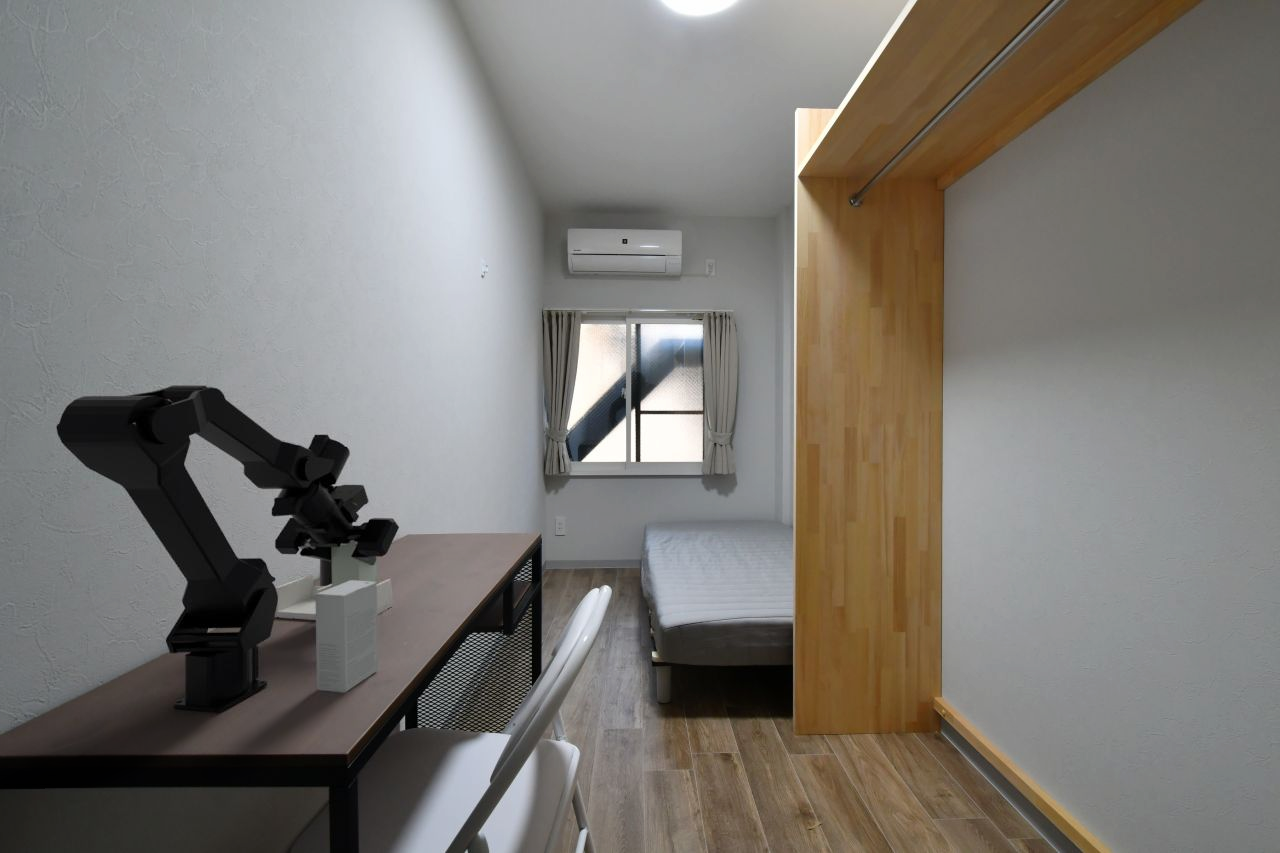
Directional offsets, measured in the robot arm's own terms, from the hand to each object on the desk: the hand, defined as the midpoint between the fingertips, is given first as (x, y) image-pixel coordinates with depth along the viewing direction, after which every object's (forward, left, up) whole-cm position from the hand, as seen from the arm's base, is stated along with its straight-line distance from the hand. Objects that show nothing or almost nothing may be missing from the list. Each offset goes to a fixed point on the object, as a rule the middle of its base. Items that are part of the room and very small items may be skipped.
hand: (360, 562), depth 92 cm
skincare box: (-23, -16, -9) cm, 30 cm away
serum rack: (-1, +4, -8) cm, 9 cm away
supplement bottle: (+10, +12, -9) cm, 18 cm away
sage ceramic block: (-1, 0, -7) cm, 7 cm away
